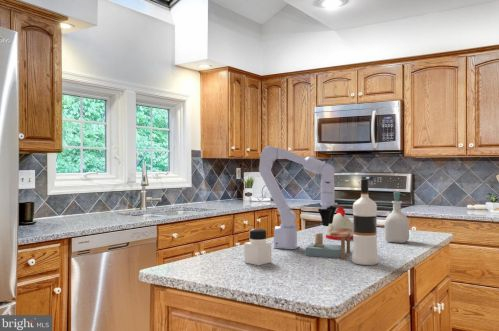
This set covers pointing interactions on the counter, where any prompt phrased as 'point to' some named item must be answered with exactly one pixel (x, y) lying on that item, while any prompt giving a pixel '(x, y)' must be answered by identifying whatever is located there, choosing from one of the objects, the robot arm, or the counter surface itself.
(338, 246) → the socket block
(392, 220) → the soap bottle
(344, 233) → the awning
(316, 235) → the birch peg
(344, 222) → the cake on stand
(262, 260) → the medicine bottle
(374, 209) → the vodka
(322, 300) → the counter surface
